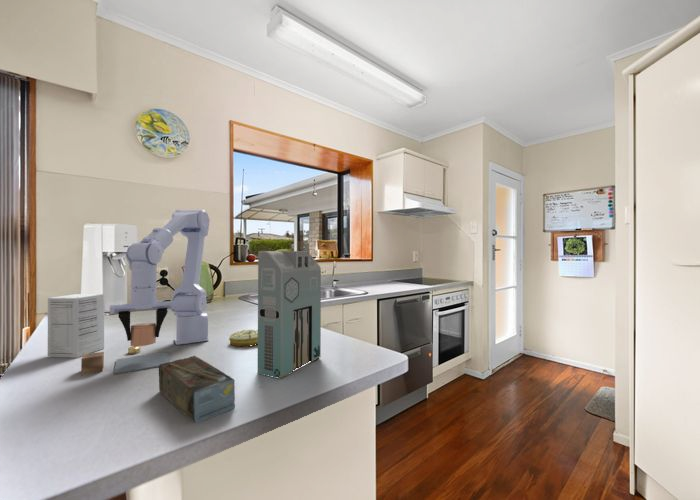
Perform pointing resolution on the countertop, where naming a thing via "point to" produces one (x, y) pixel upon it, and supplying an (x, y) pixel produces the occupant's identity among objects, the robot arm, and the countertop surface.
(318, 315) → the device
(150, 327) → the peach faceted cylinder
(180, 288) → the robot arm
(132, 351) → the brass token
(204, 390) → the beverage carton
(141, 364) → the slate mat
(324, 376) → the countertop surface
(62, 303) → the supplement box
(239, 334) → the decorated donut
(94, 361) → the walnut block
